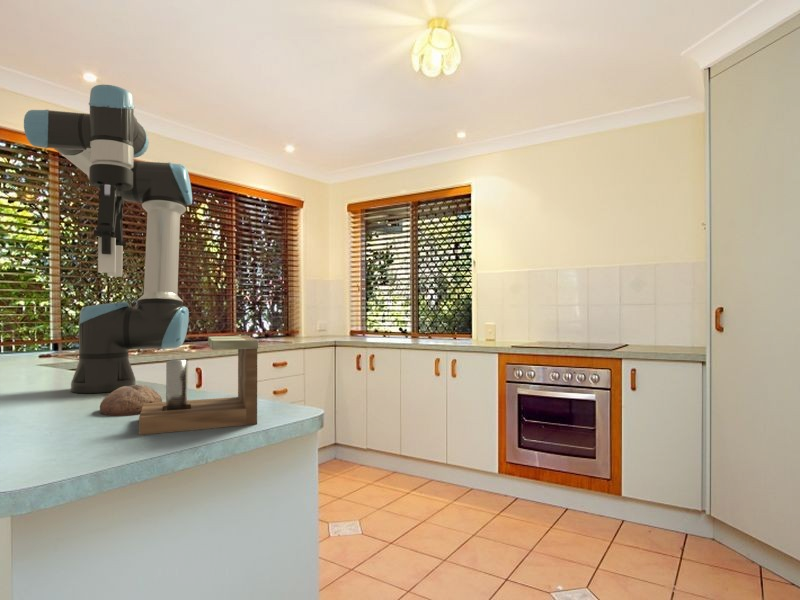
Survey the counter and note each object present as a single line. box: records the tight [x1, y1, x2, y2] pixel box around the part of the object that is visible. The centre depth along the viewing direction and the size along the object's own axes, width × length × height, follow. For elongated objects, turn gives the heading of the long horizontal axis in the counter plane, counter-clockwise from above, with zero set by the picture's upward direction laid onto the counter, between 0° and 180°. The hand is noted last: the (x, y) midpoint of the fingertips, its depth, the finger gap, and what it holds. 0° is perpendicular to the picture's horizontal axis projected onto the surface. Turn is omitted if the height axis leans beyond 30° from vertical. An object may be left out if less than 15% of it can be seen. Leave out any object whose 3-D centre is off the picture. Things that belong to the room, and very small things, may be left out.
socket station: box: [138, 335, 259, 436], centre depth 99 cm, size 16×20×16 cm
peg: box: [165, 359, 188, 411], centre depth 97 cm, size 4×4×12 cm
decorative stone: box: [99, 384, 163, 417], centre depth 110 cm, size 12×12×6 cm
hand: (111, 275), depth 100 cm, fingers open, 13 cm apart
